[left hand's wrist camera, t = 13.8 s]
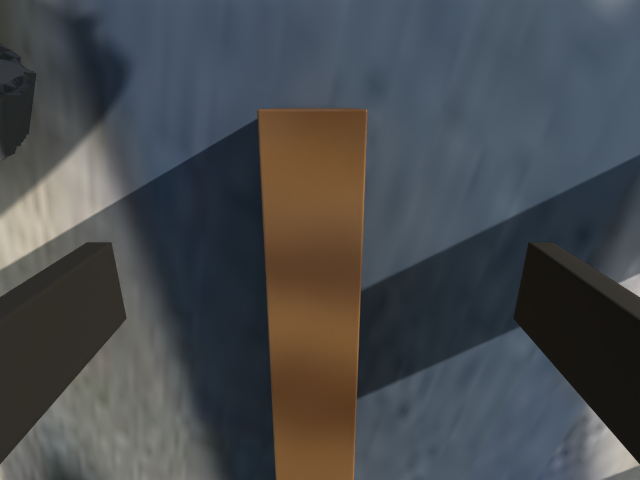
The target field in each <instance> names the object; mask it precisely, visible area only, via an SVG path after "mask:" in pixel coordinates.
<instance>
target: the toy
mask: <svg viewBox="0 0 640 480" xmlns="http://www.w3.org/2000/svg"><path fill="white" fill-rule="evenodd" d="M20 58H21V57H20V56H19V55H17V54H16V53H14V52H13V51H11V50H10V49H8V48H6V47H5V46H3V45H1V44H0V160H2V159H6V157H7V156H10V155H12V154H15V150H16V146H20V145H21V142H23V139H25V138H26V135H27V134H29V126H30V118H31V110H32V103H33V95H34V87H35V79H36V73H34V71H31V70H28V69H26V68H25V67H24V66H23V65H20Z"/></svg>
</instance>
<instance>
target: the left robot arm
mask: <svg viewBox="0 0 640 480" xmlns="http://www.w3.org/2000/svg"><path fill="white" fill-rule="evenodd" d="M125 320H126V314H125V309H124V304H123V299H122V294H121V289H120V284H119V279H118V274H117V269H116V264H115V259H114V254H113V249H112V244H111V242H87V243H85V244H84V245H82V246H81V247H79V248H77V249H76V250H74V251H73V252H71V253H69V254H68V255H66V256H65V257H63V258H62V259H60V260H58V261H57V262H55V263H54V264H52V265H50V266H49V267H47V268H46V269H44V270H43V271H41V272H39V273H38V274H36V275H35V276H33V277H32V278H30V279H28V280H27V281H25V282H24V283H22V284H20V285H19V286H17V287H16V288H14V289H13V290H11V291H9V292H8V293H6V294H5V295H3V296H1V297H0V464H1V463H2V462H3V460H4V459H5V458H6V457H7V456H8V455H9V453H10V452H11V451H12V450H13V449H14V448H15V447H16V445H17V444H18V443H19V442H20V441H21V440H22V438H23V437H24V436H25V435H26V434H27V433H28V432H29V430H30V429H31V428H32V427H33V426H34V425H35V423H36V422H37V421H38V420H39V419H40V418H41V417H42V415H43V414H44V413H45V412H46V411H47V410H48V408H49V407H50V406H51V405H52V404H53V403H54V402H55V400H56V399H57V398H58V397H59V396H60V395H61V393H62V392H63V391H64V390H65V389H66V388H67V387H68V385H69V384H70V383H71V382H72V381H73V380H74V378H75V377H76V376H77V375H78V374H79V373H80V372H81V370H82V369H83V368H84V367H85V366H86V365H87V363H88V362H89V361H90V360H91V359H92V358H93V357H94V355H95V354H96V353H97V352H98V351H99V350H100V348H101V347H102V346H103V345H104V344H105V343H106V342H107V340H108V339H109V338H110V337H111V336H112V335H113V333H114V332H115V331H116V330H117V329H118V328H119V327H120V325H121V324H122V323H123V322H124V321H125ZM514 320H515V321H516V322H517V323H518V324H519V325H520V327H521V328H522V329H523V330H524V331H525V332H526V333H527V335H528V336H529V337H530V338H531V339H532V340H533V342H534V343H535V344H536V345H537V346H538V347H539V348H540V350H541V351H542V352H543V353H544V354H545V355H546V357H547V358H548V359H549V360H550V361H551V362H552V363H553V365H554V366H555V367H556V368H557V369H558V370H559V372H560V373H561V374H562V375H563V376H564V377H565V378H566V380H567V381H568V382H569V383H570V384H571V385H572V387H573V388H574V389H575V390H576V391H577V392H578V393H579V395H580V396H581V397H582V398H583V399H584V400H585V402H586V403H587V404H588V405H589V406H590V407H591V408H592V410H593V411H594V412H595V413H596V414H597V415H598V417H599V418H600V419H601V420H602V421H603V422H604V423H605V425H606V426H607V427H608V428H609V429H610V430H611V432H612V433H613V434H614V435H615V436H616V437H617V438H618V440H619V441H620V442H621V443H622V444H623V445H624V447H625V448H626V449H627V450H628V451H629V452H630V453H631V455H632V456H633V457H634V458H635V459H636V460H637V462H638V463H639V464H640V297H639V296H637V295H635V294H634V293H632V292H631V291H629V290H627V289H626V288H624V287H623V286H621V285H620V284H618V283H616V282H615V281H613V280H612V279H610V278H608V277H607V276H605V275H604V274H602V273H601V272H599V271H597V270H596V269H594V268H593V267H591V266H590V265H588V264H586V263H585V262H583V261H582V260H580V259H578V258H577V257H575V256H574V255H572V254H571V253H569V252H567V251H566V250H564V249H563V248H561V247H559V246H558V245H556V244H555V243H553V242H529V244H528V249H527V254H526V259H525V264H524V269H523V274H522V279H521V284H520V289H519V294H518V299H517V304H516V309H515V314H514Z"/></svg>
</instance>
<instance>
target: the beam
mask: <svg viewBox="0 0 640 480" xmlns="http://www.w3.org/2000/svg"><path fill="white" fill-rule="evenodd" d="M257 115H258V135H259V154H260V174H261V194H262V214H263V234H264V254H265V273H266V293H267V313H268V333H269V353H270V373H271V393H272V412H273V432H274V452H275V472H276V480H354V457H355V431H356V404H357V377H358V350H359V324H360V297H361V270H362V244H363V217H364V190H365V163H366V137H367V110H366V109H355V108H270V109H259V110H258V111H257Z"/></svg>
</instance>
